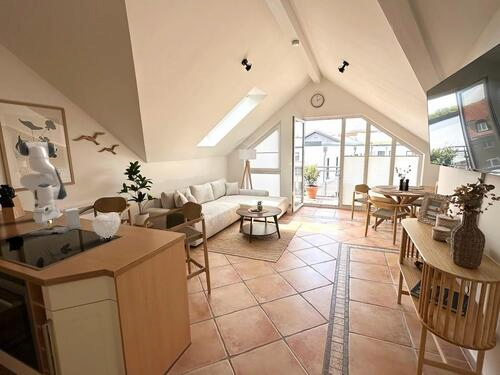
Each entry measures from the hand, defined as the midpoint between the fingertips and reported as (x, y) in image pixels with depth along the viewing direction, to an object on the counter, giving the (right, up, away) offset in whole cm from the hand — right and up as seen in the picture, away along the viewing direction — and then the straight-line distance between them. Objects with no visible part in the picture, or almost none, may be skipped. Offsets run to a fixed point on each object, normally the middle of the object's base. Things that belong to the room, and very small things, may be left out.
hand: (49, 225), depth 173 cm
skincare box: (+9, -4, +11) cm, 15 cm away
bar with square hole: (0, -5, +1) cm, 5 cm away
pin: (0, -5, +1) cm, 5 cm away
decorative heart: (+48, -7, -11) cm, 50 cm away
